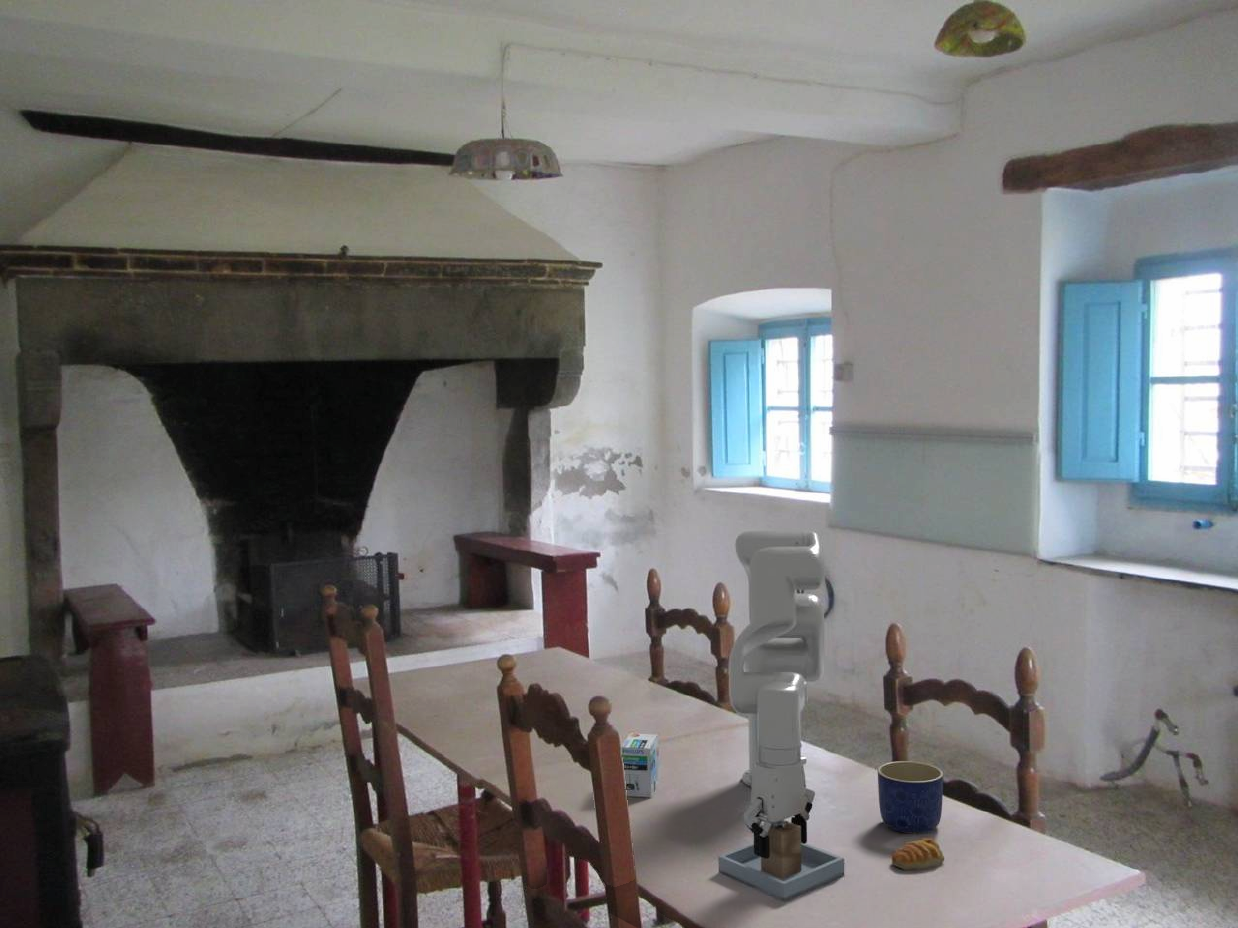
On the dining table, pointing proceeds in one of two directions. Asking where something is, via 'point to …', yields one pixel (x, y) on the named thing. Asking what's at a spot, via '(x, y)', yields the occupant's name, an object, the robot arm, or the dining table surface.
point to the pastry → (918, 855)
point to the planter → (910, 796)
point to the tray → (813, 873)
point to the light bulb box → (641, 764)
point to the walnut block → (783, 849)
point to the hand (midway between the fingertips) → (780, 848)
